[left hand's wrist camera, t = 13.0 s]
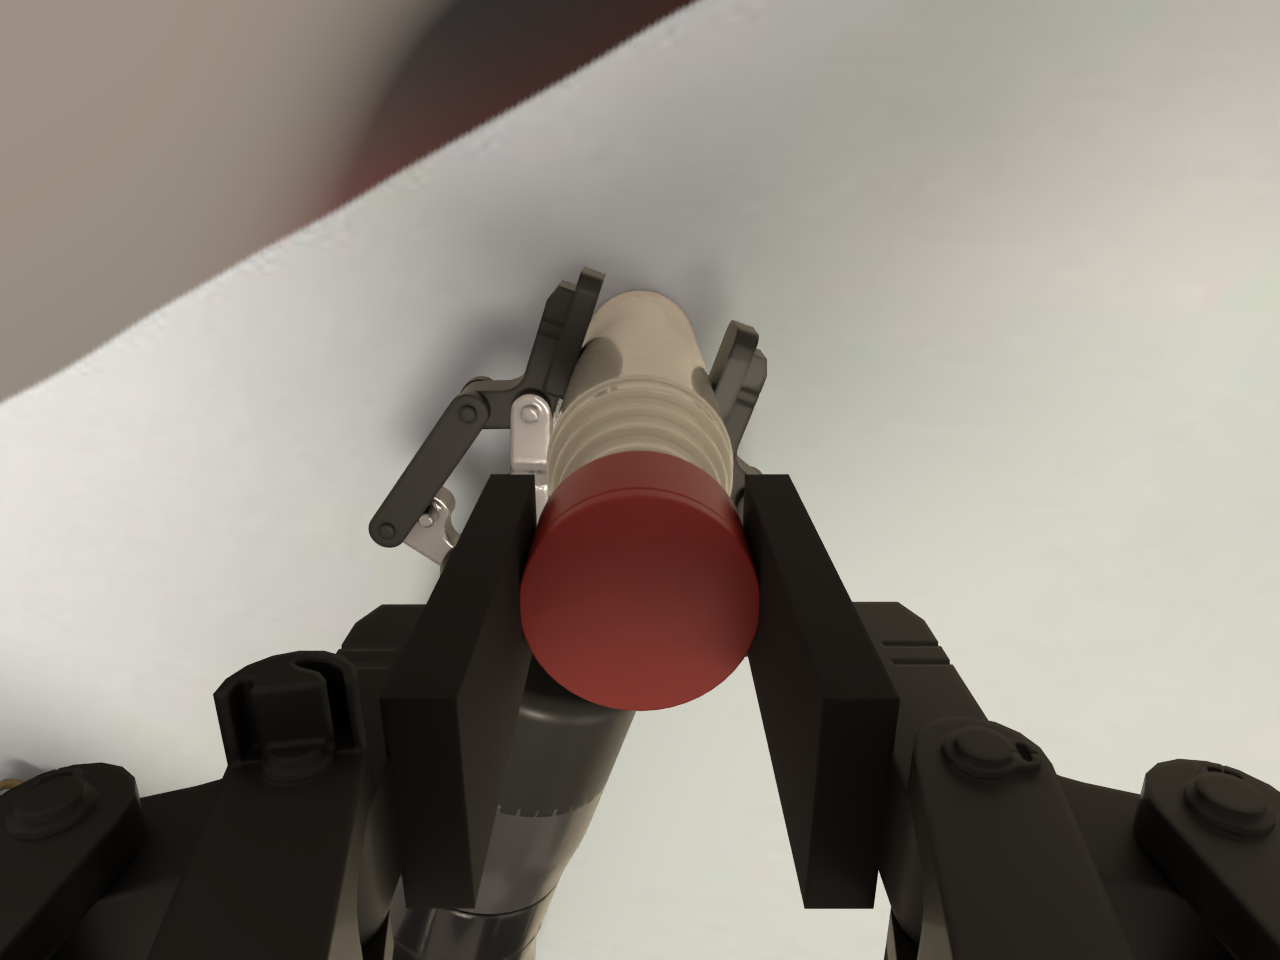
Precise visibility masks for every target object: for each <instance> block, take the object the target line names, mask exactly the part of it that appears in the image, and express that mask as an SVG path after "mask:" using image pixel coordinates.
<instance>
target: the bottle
mask: <svg viewBox="0 0 1280 960" xmlns="http://www.w3.org/2000/svg"><path fill="white" fill-rule="evenodd" d="M628 451H653V452H659V453H665V454H669V455H672V456H675V457H679V458H681V459H683V460H686V461H688V462H690V463H692V464H694V465H696V466H697V467H699V468H701V469H702V470H704V471H705V472H706V473H708V474H709V475H710V476H711V477H713V478H714V479H715V480H716V481H717V482H718V483H719V484H720V485H721V486H722V487H723V489H724V490H725V491H726V492H727V494H728V495H729V497H730V495H731V490H732V484H733V451H732V447H731V442H730V438H729V435H728V432H727V429H726V426H725V424H724V421H723V418H722V415H721V412H720V409H719V406H718V403H717V400H716V397H715V394H714V391H713V388H712V386H711V383H710V380H709V377H708V374H707V371H706V368H705V365H704V362H703V359H702V356H701V353H700V350H699V348H698V345H697V342H696V339H695V336H694V333H693V330H692V327H691V325H690V322H689V320H688V318H687V316H686V315H685V314H684V312H683V311H682V310H681V309H680V308H679V307H678V305H676V304H675V303H674V302H673V301H671V300H670V299H668V298H667V297H665V296H662V295H660V294H657V293H654V292H650V291H630V292H626V293H622V294H620V295H617V296H615V297H613V298H612V299H610V300H609V301H607V302H606V303H605V304H603V305H602V306H601V307H600V308H599V310H598V311H597V312H596V313H595V315H594V316H593V318H592V320H591V322H590V324H589V327H588V330H587V333H586V336H585V339H584V342H583V345H582V349H581V351H580V354H579V357H578V360H577V363H576V366H575V368H574V370H573V373H572V376H571V379H570V382H569V385H568V388H567V390H566V393H565V396H564V399H563V402H562V405H561V408H560V411H559V414H558V417H557V419H556V422H555V425H554V428H553V431H552V434H551V437H550V441H549V445H548V450H547V458H546V466H547V487H548V493H549V497H550V496H551V494H552V493H553V492H554V490H555V489H556V488H557V487H558V486H559V485H560V483H561V482H562V481H564V480H565V479H566V478H567V477H568V476H569V475H570V474H572V473H573V472H574V471H576V470H577V469H579V468H580V467H582V466H583V465H586V464H588V463H590V462H592V461H594V460H596V459H598V458H601V457H604V456H607V455H611V454H615V453H620V452H628Z"/></svg>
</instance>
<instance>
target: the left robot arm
mask: <svg viewBox="0 0 1280 960" xmlns="http://www.w3.org/2000/svg"><path fill="white" fill-rule="evenodd" d="M742 525H743V529H744V532H745V535H746V539H747V542H748V546H749V549H750V552H751V556H752V559H753V563H754V566H755V570H756V573H757V576H758V581H759V586H760V598H759V617H758V628H757V632H756V635H755V638H754V640H753V642H752V645H751V647H750V649H749V650H748V652H747V654H748V658H749V663H750V667H751V672H752V676H753V681H754V685H755V690H756V694H757V699H758V703H759V707H760V712H761V716H762V721H763V725H764V730H765V734H766V739H767V743H768V748H769V752H770V756H771V761H772V765H773V770H774V774H775V779H776V783H777V788H778V792H779V796H780V801H781V805H782V810H783V814H784V819H785V823H786V828H787V832H788V837H789V841H790V845H791V850H792V854H793V859H794V863H795V868H796V872H797V877H798V881H799V886H800V890H801V894H802V899H803V903H804V908H805V909H873V908H874V900H875V892H876V884H877V877H878V869H879V872H880V875H881V878H882V881H883V884H884V887H885V890H886V893H887V896H888V899H889V901H890V904H891V912H890V920H889V927H888V934H887V941H886V949H885V956H884V960H1280V792H1279V791H1278V790H1276V789H1275V788H1273V787H1272V786H1270V785H1269V784H1267V783H1265V782H1263V781H1260V780H1258V779H1256V778H1254V777H1252V776H1250V775H1248V774H1246V773H1244V772H1242V771H1240V770H1237V769H1234V768H1231V767H1228V766H1222V765H1221V764H1216V763H1211V762H1208V761H1198V760H1187V759H1176V760H1171V761H1166V762H1161V763H1157V764H1156V765H1155V766H1154V767H1153V768H1152V769H1151V770H1149V771H1148V772H1147V773H1146V775H1145V779H1144V783H1143V786H1142V790H1141V794H1135V793H1131V792H1126V791H1121V790H1116V789H1112V788H1107V787H1102V786H1097V785H1093V784H1088V783H1083V782H1080V781H1076V780H1073V779H1069V778H1065V777H1062V776H1059V775H1057V774H1056V772H1055V770H1054V767H1053V765H1052V763H1051V762H1050V761H1049V759H1048V758H1047V756H1046V755H1045V754H1044V752H1043V751H1042V749H1041V748H1040V747H1039V746H1037V745H1036V744H1035V743H1033V742H1032V741H1031V740H1029V739H1028V738H1026V737H1025V736H1024V735H1022V734H1021V733H1019V732H1017V731H1015V730H1012V729H1010V728H1008V727H1005V726H1003V725H1001V724H999V723H996V722H992V721H988V719H987V718H986V716H985V714H984V713H983V711H982V710H981V708H980V707H979V705H978V704H977V702H976V700H975V699H974V697H973V696H972V694H971V693H970V691H969V689H968V688H967V686H966V685H965V683H964V682H963V680H962V679H961V677H960V675H959V674H958V672H957V671H956V669H955V668H954V666H953V665H950V660H949V658H948V657H947V655H946V654H945V652H944V650H943V649H942V647H941V646H938V641H937V639H936V638H935V636H934V635H933V633H932V632H931V630H930V629H929V627H928V625H927V624H926V622H925V621H924V620H923V619H922V618H920V617H919V616H917V615H916V614H914V613H913V612H912V611H910V610H909V609H907V608H906V607H904V606H903V605H901V604H900V603H899V602H852V601H851V599H850V597H849V595H848V593H847V591H846V589H845V587H844V585H843V583H842V581H841V579H840V577H839V575H838V573H837V571H836V569H835V567H834V565H833V563H832V561H831V559H830V557H829V555H828V553H827V551H826V549H825V547H824V545H823V543H822V541H821V539H820V537H819V535H818V533H817V531H816V529H815V527H814V525H813V523H812V521H811V519H810V517H809V515H808V513H807V511H806V509H805V507H804V505H803V503H802V501H801V499H800V497H799V495H798V492H797V490H796V488H795V486H794V484H793V482H792V480H791V478H790V476H789V474H745V481H744V503H743V524H742ZM536 527H537V514H536V493H535V474H491V475H490V477H489V479H488V481H487V483H486V485H485V487H484V489H483V491H482V493H481V495H480V497H479V499H478V501H477V503H476V505H475V507H474V509H473V511H472V513H471V515H470V517H469V519H468V522H467V524H466V526H465V528H464V530H463V532H462V534H461V536H460V538H459V540H458V542H457V544H456V546H455V548H454V550H453V552H452V554H451V556H450V558H449V560H448V562H447V564H446V566H445V568H444V570H443V572H442V574H441V576H440V578H439V580H438V582H437V584H436V586H435V588H434V590H433V592H432V594H431V596H430V598H429V600H428V602H427V604H405V605H381V606H379V607H378V608H376V609H375V610H373V611H372V612H371V613H369V614H368V615H366V616H365V617H363V618H362V619H361V620H359V621H358V622H356V623H355V625H354V626H353V628H352V629H351V631H350V633H349V634H348V636H347V637H346V639H345V640H344V642H343V644H342V649H339V650H338V651H337V653H336V654H334V653H330V652H327V651H296V652H290V653H285V654H280V655H274V656H271V657H268V658H266V659H263V660H260V661H258V662H255V663H252V664H250V665H247V666H246V667H244V668H242V669H241V670H239V671H238V672H236V673H235V674H233V675H231V676H230V677H228V678H227V679H226V680H225V681H224V682H223V683H222V684H221V685H220V687H219V688H218V689H217V690H216V691H215V693H214V694H213V696H214V701H215V706H216V711H217V716H218V720H219V725H220V730H221V735H222V739H223V744H224V749H225V754H226V759H227V763H228V766H227V769H226V771H225V774H224V776H223V778H222V779H220V780H216V781H213V782H209V783H206V784H202V785H198V786H194V787H190V788H185V789H180V790H175V791H171V792H166V793H161V794H157V795H152V796H147V797H143V798H140V797H139V793H138V789H137V785H136V781H135V778H134V777H133V776H132V775H131V774H130V773H129V772H128V771H127V770H126V769H124V768H123V767H121V766H116V765H111V764H106V763H90V764H79V765H72V766H68V767H63V768H59V769H58V770H52V771H49V772H46V773H43V774H40V775H38V776H36V777H34V778H32V779H30V780H28V781H26V782H24V783H22V784H20V785H18V786H16V787H13V788H11V789H10V790H8V791H7V792H6V793H4V794H3V795H1V796H0V960H392V956H393V947H394V941H393V934H392V927H391V920H390V912H389V907H390V904H391V901H392V898H393V895H394V892H395V889H396V887H397V884H398V881H399V878H400V875H401V873H402V881H403V889H404V896H405V904H406V909H475V905H476V901H477V896H478V892H479V888H480V883H481V879H482V874H483V870H484V865H485V861H486V856H487V852H488V848H489V843H490V839H491V834H492V830H493V825H494V821H495V816H496V812H497V807H498V803H499V799H500V794H501V790H502V785H503V781H504V776H505V772H506V767H507V763H508V759H509V754H510V750H511V745H512V741H513V736H514V732H515V727H516V723H517V718H518V714H519V710H520V705H521V701H522V696H523V692H524V687H525V683H526V678H527V674H528V670H529V665H530V661H531V656H532V652H531V650H530V648H529V646H528V644H527V642H526V639H525V637H524V634H523V631H522V625H521V609H520V582H521V578H522V575H523V571H524V568H525V565H526V561H527V558H528V554H529V551H530V548H531V544H532V541H533V538H534V534H535V531H536Z"/></svg>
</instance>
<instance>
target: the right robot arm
mask: <svg viewBox="0 0 1280 960" xmlns="http://www.w3.org/2000/svg"><path fill="white" fill-rule="evenodd" d="M604 278H605V274H603V273H600V272H597V271H594V270H592V269H589V268H586V267H584V268H583V270H582V272H581V274H580V277H579V280H578V283H577V285H575V284H573V283H570V282H567V281H564V280H563V281H562V282H561V283H560V284H559V286H558V287H557V288H556V289H555V291H554V292H553V293H552V294H551V296H550V297H549V298H548V300H547V302H546V306H545V309H544V312H543V315H542V319H541V322H540V325H539V329H538V332H537V335H536V338H535V342H534V345H533V348H532V352H531V355H530V358H529V361H528V365H527V368H526V371H525V374H523V375H522V376H521V377H519V378H517V379H514V380H492V379H490V378H488V377H484V376H478V377H475V378H473V379H471V380H470V381H469V382H468V383H467V384H466V385H465V386H464V388H463V389H462V391H461V392H460V394H458V395H457V396H456V397H455V398H454V400H453V401H452V402H451V403H450V405H449V406H448V408H447V409H446V411H445V412H444V414H443V415H442V417H441V418H440V420H439V421H438V422H437V424H436V425H435V427H434V428H433V430H432V431H431V433H430V434H429V436H428V437H427V439H426V440H425V442H424V443H423V445H422V446H421V447H420V449H419V450H418V452H417V453H416V455H415V456H414V458H413V459H412V461H411V462H410V464H409V465H408V467H407V468H406V470H405V471H404V472H403V474H402V475H401V477H400V478H399V480H398V481H397V483H396V484H395V486H394V487H393V489H392V490H391V492H390V493H389V495H388V496H387V498H386V499H385V500H384V502H383V503H382V505H381V506H380V508H379V509H378V511H377V512H376V514H375V515H374V517H373V518H372V520H371V521H370V524H369V534H370V536H371V538H372V539H373V540H374V541H375V542H376V543H377V544H379V545H381V546H383V547H388V548H392V547H396V546H398V545H400V544H401V543H402V542H403V543H405V544H407V545H408V546H410V547H411V548H413V549H414V550H416V551H418V552H419V553H421V554H422V555H424V556H426V557H427V558H429V559H430V560H432V561H434V562H435V563H437V564H438V565H440V566H441V568H440V576H441V574H442V572H443V570H444V568H445V566H446V564H447V562H448V560H449V558H450V556H451V554H452V552H453V550H454V548H455V546H456V544H457V542H458V540H459V538H460V536H461V534H459V533H457V532H456V531H455V529H454V528H453V526H452V523H451V515H452V513H453V511H454V508H455V499H454V496H453V495H452V493H451V492H450V491H449V490H448V489H446V488H445V487H443V484H444V483H445V481H446V480H447V479H448V477H449V476H450V474H451V473H452V472H453V470H454V469H455V467H456V466H457V464H458V463H459V462H460V460H461V459H462V457H463V456H464V454H465V453H466V452H467V450H468V449H469V447H470V446H471V444H472V443H473V442H474V440H475V439H476V437H477V436H478V434H479V433H480V432H481V430H482V429H511V468H510V474H535V493H536V514H537V524H538V521H539V517H540V514H541V512H542V510H543V508H544V506H545V504H546V502H547V501H548V499H549V493H548V487H547V466H546V458H547V450H548V445H549V441H550V437H551V434H552V431H553V428H554V425H555V422H556V419H557V417H558V401H559V398H560V399H564V396H565V393H566V390H567V388H568V385H569V382H570V379H571V376H572V373H573V370H574V368H575V366H576V363H577V360H578V357H579V354H580V351H581V349H582V345H583V342H584V339H585V336H586V333H587V330H588V327H589V324H590V321H591V318H592V315H593V312H594V308H595V305H596V302H597V299H598V296H599V293H600V290H601V287H602V284H603V281H604ZM758 339H759V335H758V333H757V332H756V330H755V329H754V328H753V327H751V326H748V325H745V324H742V323H739V322H737V321H734V320H732V321H731V322H730V324H729V326H728V328H727V330H726V333H725V335H724V338H723V341H722V343H721V346H720V348H719V351H718V354H717V356H716V359H715V361H714V364H713V367H712V369H711V372H710V374H709V380H710V383H711V386H712V388H713V391H714V394H715V397H716V400H717V403H718V406H719V409H720V412H721V415H722V418H723V421H724V424H725V426H726V429H727V432H728V435H729V438H730V442H731V447H732V451H733V484H732V490H731V495H730V498H731V500H732V501H733V503H734V505H735V507H736V509H737V511H738V513H739V516H740V519H741V522H742V524H743V503H744V481H745V474H762V473H761V472H760V471H759V470H758V469H757V468H755V467H751V466H749V465H748V464H746V463H745V462H744V461H743V460H741V459H740V458H739V457H738V456H737V449H738V446H739V443H740V441H741V438H742V436H743V433H744V431H745V429H746V426H747V424H748V421H749V419H750V416H751V414H752V411H753V409H754V406H755V404H756V402H757V399H758V397H759V394H760V392H761V389H762V387H763V385H764V382H765V380H766V377H767V359H766V357H765V356H764V355H763V353H762V352H761V350H759V349H756V347H757V344H758ZM747 656H748V654H746V655H745V657H747ZM635 712H636V711H631V710H621V709H615V708H610V707H606V706H602V705H599V704H596V703H593V702H591V701H588V700H585V699H583V698H581V697H579V696H578V695H576V694H574V693H572V692H570V691H569V690H567V689H566V688H565V687H563V686H562V685H560V684H559V683H558V682H557V681H555V680H554V679H553V678H552V677H551V676H550V675H549V674H548V673H547V672H546V671H545V670H544V668H543V667H542V666H541V665H540V664H539V663H538V661H537V659H536V658H535V656H534V655H533V653H532V656H531V661H530V665H529V670H528V674H527V678H526V683H525V687H524V692H523V696H522V701H521V705H520V710H519V714H518V718H517V723H516V727H515V732H514V736H513V741H512V745H511V750H510V754H509V759H508V763H507V767H506V772H505V776H504V781H503V785H502V790H501V794H500V799H499V803H498V807H497V812H496V816H495V821H494V825H493V830H492V834H491V839H490V843H489V848H488V852H487V856H486V861H485V865H484V870H483V874H482V879H481V883H480V888H479V892H478V896H477V901H476V905H475V909H406V904H405V896H404V889H403V881H402V873H401V875H400V878H399V881H398V884H397V887H396V889H395V892H394V895H393V898H392V901H391V904H390V907H389V912H390V920H391V927H392V934H393V941H394V947H393V956H392V960H535V940H536V936H537V934H538V931H539V929H540V927H541V923H542V921H543V919H544V916H545V914H546V911H547V909H548V907H549V904H550V902H551V899H552V897H553V894H554V892H555V889H556V887H557V884H558V882H559V879H560V877H561V875H562V873H563V871H564V869H565V867H566V865H567V864H568V862H569V861H570V859H571V858H572V856H573V855H574V853H575V851H576V850H577V848H578V846H579V845H580V843H581V841H582V839H583V837H584V835H585V833H586V831H587V828H588V826H589V824H590V822H591V819H592V817H593V814H594V812H595V810H596V807H597V805H598V802H599V800H600V797H601V795H602V793H603V790H604V788H605V785H606V783H607V780H608V778H609V775H610V773H611V771H612V768H613V766H614V763H615V761H616V758H617V756H618V754H619V751H620V749H621V746H622V744H623V741H624V739H625V737H626V734H627V732H628V729H629V727H630V724H631V722H632V720H633V717H634V715H635Z"/></svg>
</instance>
